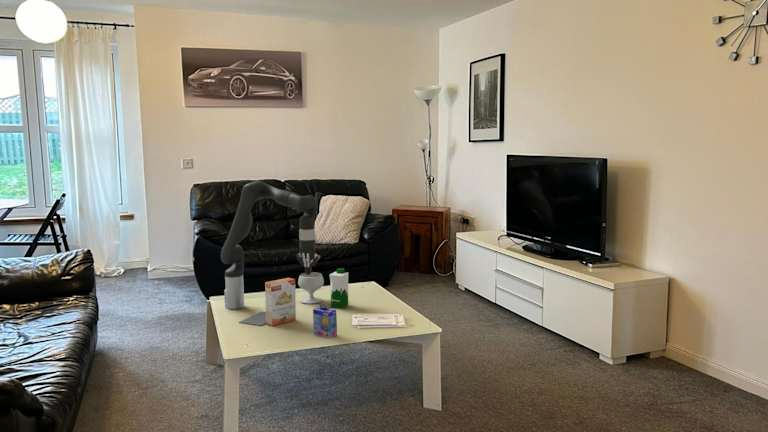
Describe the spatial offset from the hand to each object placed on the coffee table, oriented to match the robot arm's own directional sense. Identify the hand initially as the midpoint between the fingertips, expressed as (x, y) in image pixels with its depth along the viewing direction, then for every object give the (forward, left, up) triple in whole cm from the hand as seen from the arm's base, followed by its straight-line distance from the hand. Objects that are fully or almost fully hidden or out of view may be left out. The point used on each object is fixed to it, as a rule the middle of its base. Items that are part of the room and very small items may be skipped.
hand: (308, 274), depth 270 cm
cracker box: (-16, 0, -26) cm, 30 cm away
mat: (-28, 0, -25) cm, 38 cm away
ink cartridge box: (+13, -8, -26) cm, 30 cm away
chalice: (-21, +37, -26) cm, 50 cm away
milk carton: (-2, +34, -26) cm, 43 cm away
